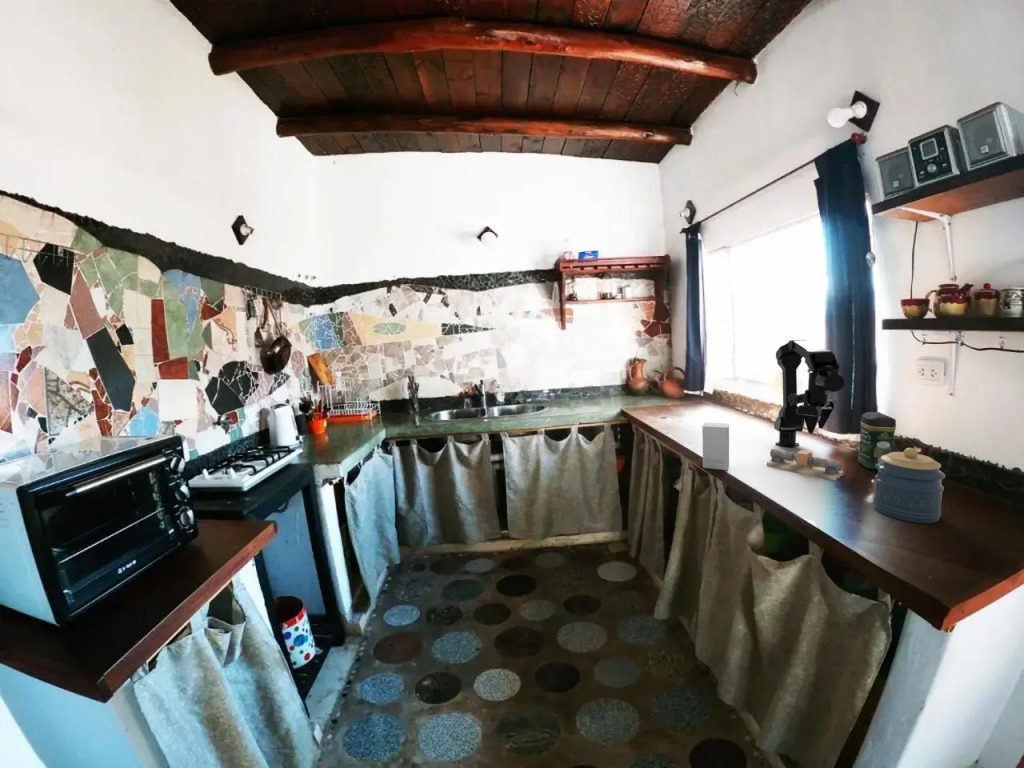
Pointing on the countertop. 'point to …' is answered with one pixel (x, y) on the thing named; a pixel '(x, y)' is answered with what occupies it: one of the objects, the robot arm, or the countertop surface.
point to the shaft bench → (818, 469)
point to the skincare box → (715, 445)
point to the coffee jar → (875, 438)
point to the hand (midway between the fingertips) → (815, 430)
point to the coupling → (804, 458)
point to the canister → (909, 487)
